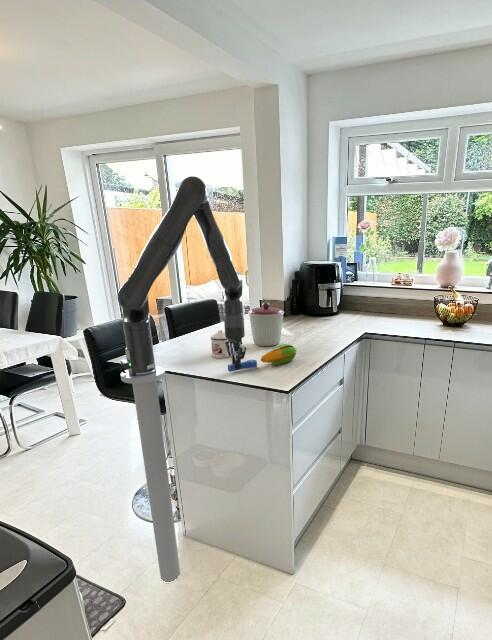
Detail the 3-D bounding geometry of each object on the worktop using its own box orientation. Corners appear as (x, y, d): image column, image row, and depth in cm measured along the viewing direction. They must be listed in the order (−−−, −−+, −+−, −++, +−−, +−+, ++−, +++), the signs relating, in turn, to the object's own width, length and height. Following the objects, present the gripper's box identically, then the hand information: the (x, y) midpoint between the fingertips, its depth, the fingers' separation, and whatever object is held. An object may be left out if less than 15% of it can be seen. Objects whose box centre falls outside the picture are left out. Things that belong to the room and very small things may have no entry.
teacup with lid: (207, 356, 180) (205, 330, 176) (222, 352, 187) (220, 327, 183) (226, 360, 174) (224, 334, 170) (240, 356, 181) (239, 330, 177)
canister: (270, 350, 191) (269, 306, 184) (241, 345, 199) (239, 303, 192) (291, 343, 205) (291, 301, 198) (263, 338, 214) (262, 299, 207)
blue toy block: (231, 372, 155) (231, 366, 154) (226, 370, 158) (226, 364, 157) (258, 366, 162) (258, 361, 161) (253, 364, 165) (253, 359, 164)
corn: (300, 342, 173) (267, 351, 159) (301, 359, 175) (268, 369, 161) (288, 341, 177) (254, 349, 163) (289, 357, 180) (256, 367, 166)
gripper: (217, 323, 155) (220, 365, 161) (234, 329, 145) (236, 374, 151) (234, 321, 160) (236, 362, 165) (251, 326, 149) (253, 370, 155)
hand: (236, 367), depth 158 cm, fingers closed on blue toy block, 2 cm apart
